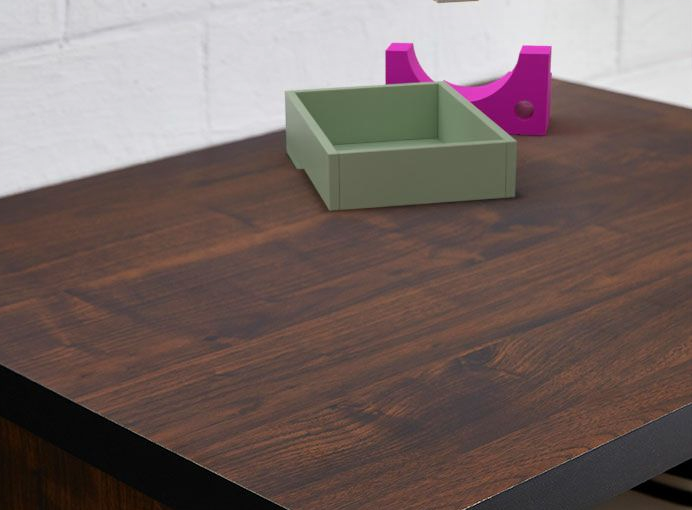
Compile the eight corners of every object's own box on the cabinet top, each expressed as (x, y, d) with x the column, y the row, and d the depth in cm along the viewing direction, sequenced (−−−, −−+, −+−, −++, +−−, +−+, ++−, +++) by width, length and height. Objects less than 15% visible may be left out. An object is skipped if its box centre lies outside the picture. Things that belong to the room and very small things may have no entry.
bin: (443, 141, 127) (444, 80, 125) (514, 211, 107) (517, 141, 105) (286, 152, 125) (284, 90, 122) (329, 225, 105) (328, 154, 103)
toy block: (549, 119, 134) (553, 40, 131) (545, 135, 128) (549, 54, 125) (396, 114, 137) (396, 37, 134) (385, 130, 131) (385, 50, 128)
